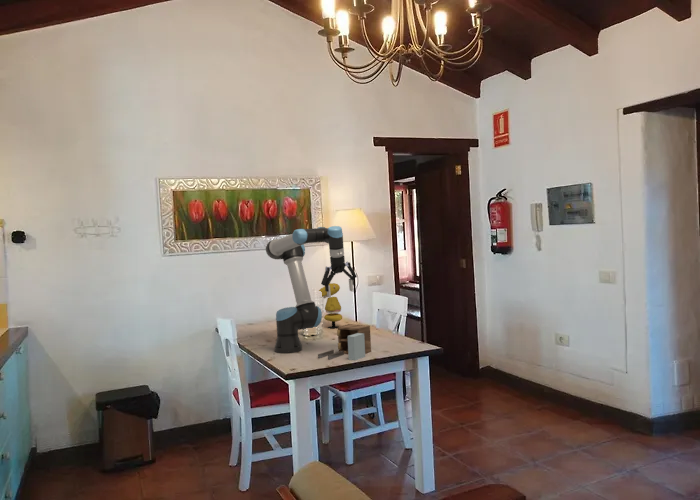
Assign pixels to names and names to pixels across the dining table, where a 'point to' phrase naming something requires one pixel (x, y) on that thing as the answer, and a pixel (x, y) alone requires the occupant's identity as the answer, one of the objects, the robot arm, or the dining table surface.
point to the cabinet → (343, 339)
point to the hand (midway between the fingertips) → (340, 293)
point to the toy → (332, 305)
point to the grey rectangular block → (356, 346)
